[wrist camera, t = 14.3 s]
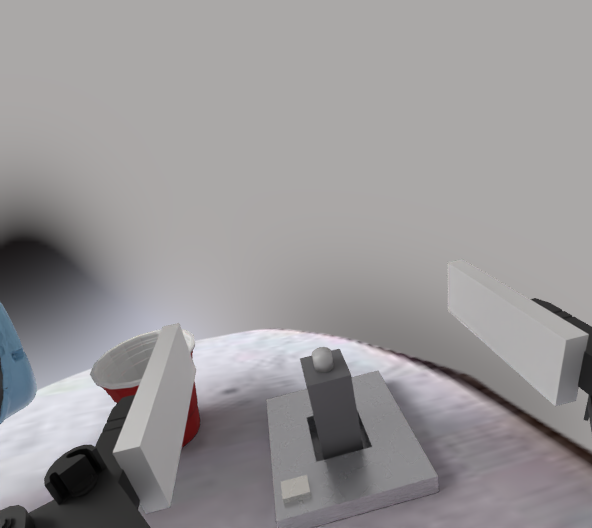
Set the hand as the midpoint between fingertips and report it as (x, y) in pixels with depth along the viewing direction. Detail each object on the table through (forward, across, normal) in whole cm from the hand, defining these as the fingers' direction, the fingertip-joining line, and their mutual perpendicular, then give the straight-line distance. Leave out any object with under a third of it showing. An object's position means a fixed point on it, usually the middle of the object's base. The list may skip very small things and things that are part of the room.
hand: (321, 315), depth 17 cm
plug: (+11, +1, -23) cm, 25 cm away
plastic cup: (+19, -17, -24) cm, 35 cm away
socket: (+11, +1, -23) cm, 26 cm away
